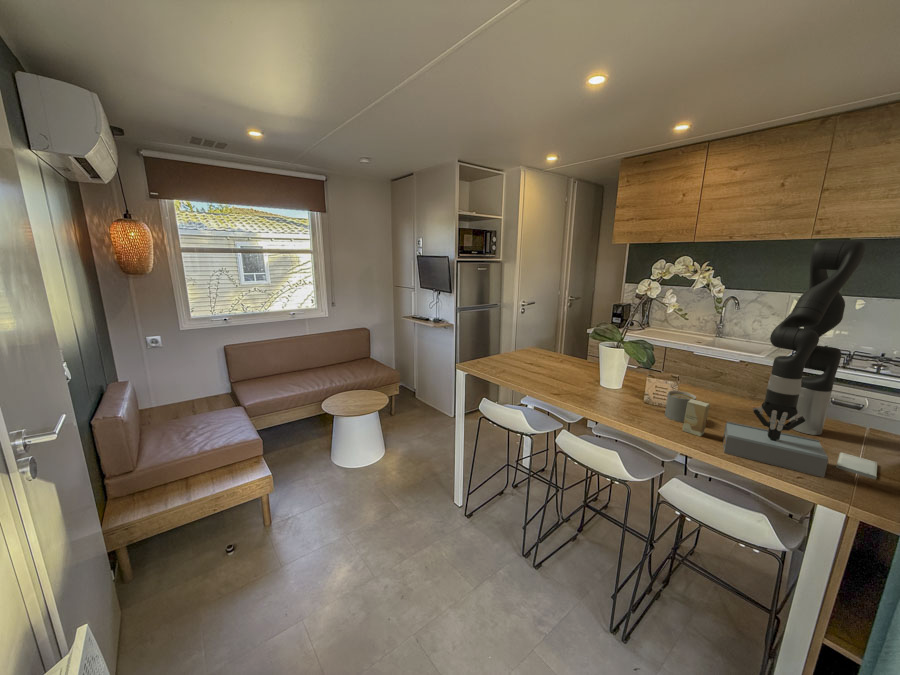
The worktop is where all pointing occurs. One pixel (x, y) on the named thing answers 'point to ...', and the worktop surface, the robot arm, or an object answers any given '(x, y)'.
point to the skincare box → (695, 417)
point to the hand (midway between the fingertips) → (772, 439)
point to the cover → (785, 441)
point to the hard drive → (857, 465)
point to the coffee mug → (677, 405)
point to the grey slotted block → (775, 456)
